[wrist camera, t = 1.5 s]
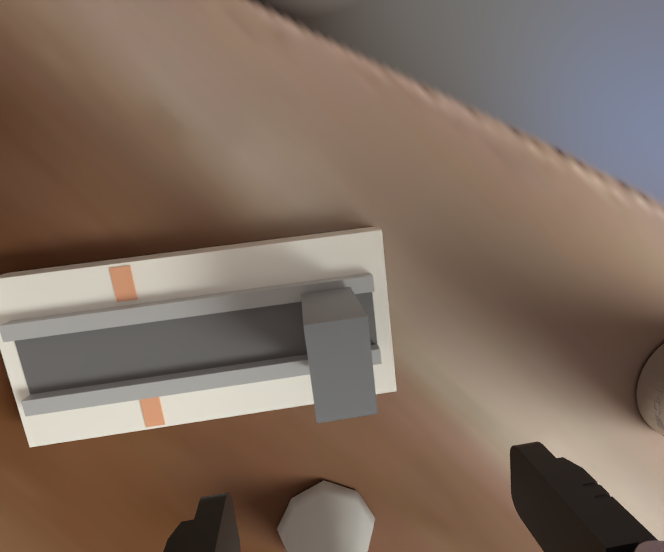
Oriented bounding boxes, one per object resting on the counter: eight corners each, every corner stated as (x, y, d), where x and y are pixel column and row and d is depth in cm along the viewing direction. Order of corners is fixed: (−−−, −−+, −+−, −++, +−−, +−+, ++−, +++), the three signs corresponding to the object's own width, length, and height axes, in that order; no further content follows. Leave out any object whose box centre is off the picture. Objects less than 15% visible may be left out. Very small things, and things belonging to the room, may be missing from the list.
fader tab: (348, 283, 26) (367, 316, 19) (356, 357, 27) (377, 413, 20) (300, 289, 26) (303, 325, 19) (310, 364, 27) (316, 423, 20)
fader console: (374, 226, 29) (385, 231, 25) (388, 375, 31) (400, 398, 28) (7, 272, 27) (-34, 284, 24) (51, 425, 29) (19, 456, 26)
